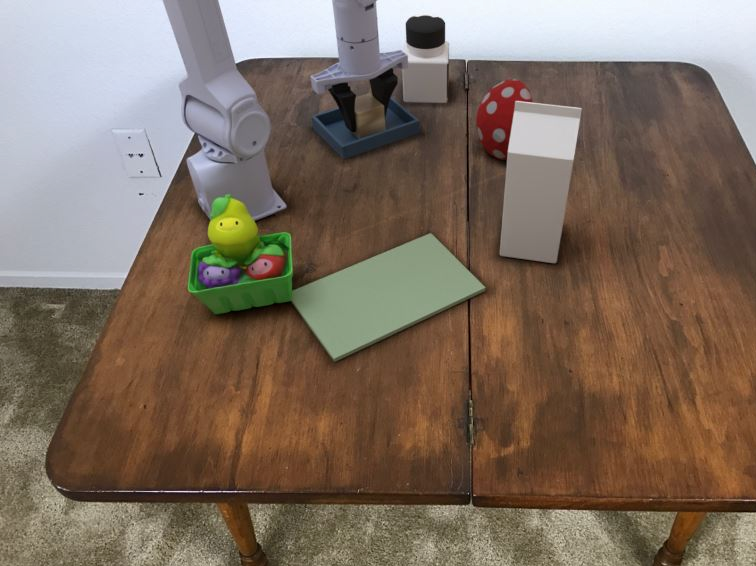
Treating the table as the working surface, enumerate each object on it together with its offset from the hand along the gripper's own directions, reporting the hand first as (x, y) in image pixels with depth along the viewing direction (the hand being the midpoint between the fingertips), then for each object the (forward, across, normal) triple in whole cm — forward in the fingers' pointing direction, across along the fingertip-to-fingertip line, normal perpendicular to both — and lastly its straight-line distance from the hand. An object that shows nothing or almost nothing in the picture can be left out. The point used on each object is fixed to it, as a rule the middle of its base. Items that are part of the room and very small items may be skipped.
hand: (365, 124), depth 102 cm
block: (+1, 0, 0) cm, 1 cm away
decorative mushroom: (+2, -17, +17) cm, 24 cm away
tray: (+1, 0, 0) cm, 1 cm away
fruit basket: (+1, +28, +23) cm, 36 cm away
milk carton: (+2, -5, +34) cm, 34 cm away
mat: (+1, +15, +32) cm, 35 cm away
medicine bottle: (+2, -14, -5) cm, 15 cm away
